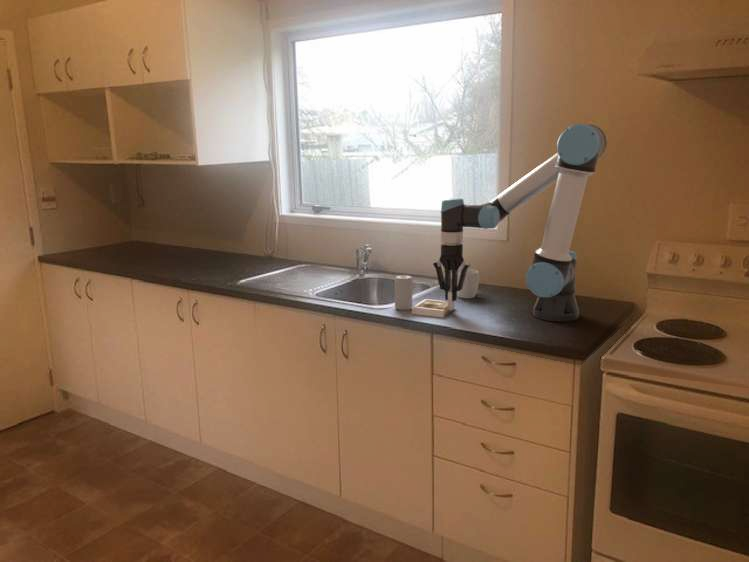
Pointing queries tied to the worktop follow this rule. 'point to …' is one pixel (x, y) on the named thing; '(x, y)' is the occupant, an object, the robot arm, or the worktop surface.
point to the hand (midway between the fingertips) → (450, 309)
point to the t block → (438, 306)
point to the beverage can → (403, 292)
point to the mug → (469, 284)
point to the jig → (428, 309)
